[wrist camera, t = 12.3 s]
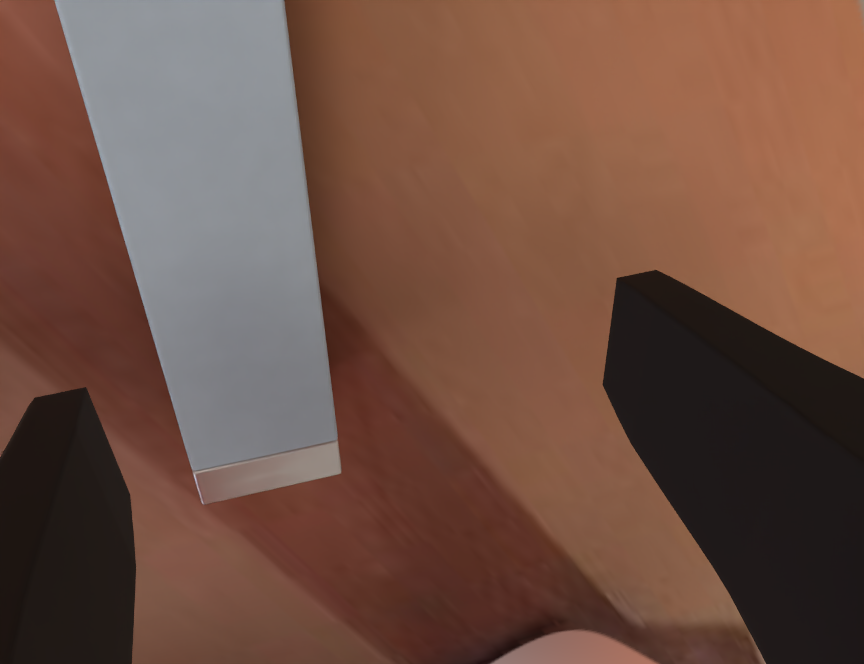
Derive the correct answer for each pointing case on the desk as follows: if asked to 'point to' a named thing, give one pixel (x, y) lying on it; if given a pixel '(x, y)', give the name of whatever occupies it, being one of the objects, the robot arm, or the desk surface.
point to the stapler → (215, 226)
